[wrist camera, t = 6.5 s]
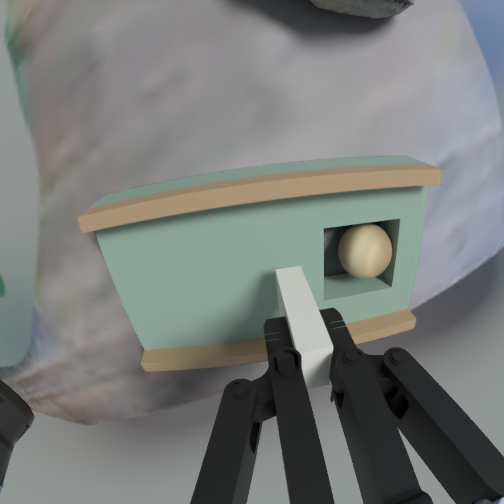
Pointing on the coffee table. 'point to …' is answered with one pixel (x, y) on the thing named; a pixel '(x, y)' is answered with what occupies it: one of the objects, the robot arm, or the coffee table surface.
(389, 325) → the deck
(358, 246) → the ball
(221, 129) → the coffee table surface
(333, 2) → the fossil
